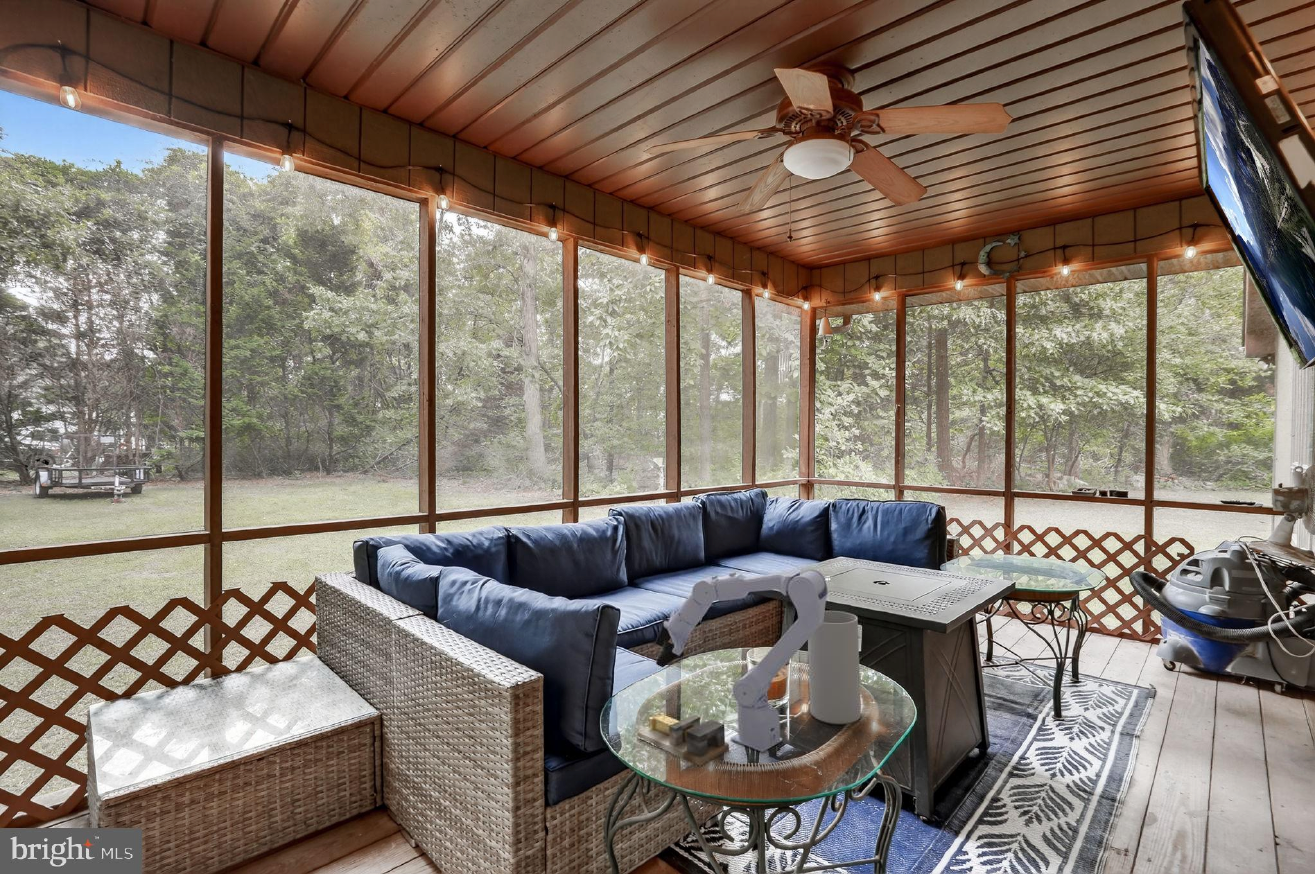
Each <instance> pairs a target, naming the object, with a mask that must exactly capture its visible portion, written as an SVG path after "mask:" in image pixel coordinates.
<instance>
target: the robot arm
mask: <svg viewBox="0 0 1315 874" xmlns="http://www.w3.org/2000/svg"><path fill="white" fill-rule="evenodd" d="M826 581H827V580H826V578H825V576H824V575H823V574H822V573H821V571H818V569H810V568H809V569H806V570H805V571H803V570H802V569H793V570H787V571H784V570H783V571H780V572H776V573H775V572H774V573H768V574H763V575H758V576H752V577H746V576H745V575H743V574H742V573H737V572H736V571H731V572H729V575H723V576H718V575H711V577H710V576H709V577H706V578H704V579H701V580H700V581H697V582H696V583H695V584H694V585H693V587H692V591H691V593H690V595H689V596H687V598H686V599H685V601H683V603H682V605H681V606H680V608H678V609H677V610H672V611H671V613H670V614H669V618H667V617H666V616H665V617H663V618H662V622H661V627H660V630H659V632H658V635H657V638H656V639H655V645H657V646H659V647H661V648H662V650H661V652H660V653H659V655H658V658H657V659H656V661H655V662H656V663H655V665H657V666H659V667H661V668H664V667H665V666H667V665H668V664H670V663H671V662H673V661H675V660H677V659H682V658H683V657H684V656H685V652H684V646H685V644H686V642H687V641H688V638H689V635H690V634H691V633H692V631H693V630H694V629H695V627H696V626H697V625H698V623H699V622H700V621H701V620H702V618H703V617H704V616H705V615H706V613H707V612H708V610H709V608H710V607H711V606H712V604H713V602H716V601H719V602H724V601H730V600H740V599H745V598H746V597H747V596H748V594H749V593H752V592H763V591H772V590H775V591H776V590H777V591H779V592H780V593H781V594H782V595H783V596H786V597H787V595H788V596H789V598H790V600H791V602H792V604H793V606H794V607H795V609H796V612H797V619H796V621H794V623H793V624H792V625H791V626H790V627H789V628H788V630H787V631H786V632H785V633H784V634H783V635H782V636H781V638H780V639H779V640H778V641H777V642H776V643H775V645H774V646H773V647H771V649H770V650H769V651H768V652H767V653H766V655H765V656H764V657H763V658H762V659H761V660H760V662H758V663H757V665H755V666H754V667H753V668H750V669H749V670H748V671H747V673H746V674H744V675H743V676H742V677H741V678H740V679H737V680H736V681H735V682H734V684H733V686H732V696H733V697H734V699H735V701H736V702H737V704H736V705H737V728H738V730H737V732H738V733H736V734H735V735H732V736H731V737H730V740H731V741H733V742H735V743H739V744H740V745H744V746H746V747H749V748H751V749H754V750H757V751H759V752H761V753H763V752H765V751H767V750H768V749H770V748H772V747H773V746H775V745H778V744H779V743H780V742H782V741H783V738H782V737H781V726H780V724H781V723H780V722H781V721H780V718H781V717H780V712H779V711H778V709H777V708H775V707H773V706H772V705H771V704H770V703H769V698H768V695H767V694H768V693H767V692H768V691H769V690H770V688H771V686H772V682H773V680H774V679H775V677H776V676H777V674H778V673H779V672H780V671H781V670H782V669H783V668H784V667H785V666H786V664H788V663H789V661H790V660H791V659H792V658H793V657H794V655H795V654H797V652H798V651H799V650H800V649H801V648H802V647H803V645H804V644H806V643H807V642H808V639H809V638H810V637H811V635H812V634H813V633H814V632H815V631H816V630H817V629H818V628H819V627H820V625H821V624H822V622H823V620H824V612H825V611H826V610H825V609H826V605H827V604H826V603H827V597H828V594H829V589H828V584H827V582H826ZM670 640H671V641H672V643H671V642H670Z"/></svg>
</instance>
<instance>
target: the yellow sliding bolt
mask: <svg viewBox="0 0 1315 874" xmlns="http://www.w3.org/2000/svg"><path fill="white" fill-rule="evenodd" d="M679 721H680V720H678V719H675V718H673V717H670V716H667V715H666V713H664V712H659V713H657V714H654V715H652V716H650V717H648V727H649V729H652V730H653V729H656V730H658V731H661V732H663V733H666V734H668V735H669V726H670V725H672V724H674V723H677V722H679ZM692 728H694V727H693V726H689V727H687V728H685V729H683V741H684V742H687V733H686V731H688V730H690V729H692Z"/></svg>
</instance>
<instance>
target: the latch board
mask: <svg viewBox="0 0 1315 874" xmlns="http://www.w3.org/2000/svg"><path fill="white" fill-rule="evenodd" d="M678 721H679V722H677V723H674V724H672V725H670V726H669V735H668V734H666V733H663V732H661V731H658V730H656V729H653V730H652V729H649V726H648V727H646V728H644V729H642V730H640V731H637V737H638V736H639V737H640V738H643V739H644V740H646V741H649V742H650V743H653V744H654V745H656V746H658V747H661V748H662V749H664V750H663V751H665V750H667V751H669V752H671V753H672V755H674V754H676V755H677V756H676V755H675V756H676V757H678V756H679V757H678V758H681V759H682V758H683V759H682V760H685V761H687V762H689V761H690V763H692V764H694V763H695V764H694V765H696V766H698V765H699V766H698V767H702V766H703V765H705V764H707V763H708V762H710V761H712V760H714V759H716V758H718V757H720V756H722V755H723V754H724V753H727V752H728V751H730V743H729V742H726V738H725V736H726V734H725V724H724V723H723V722H719V721H716V720H714V719H709V720H707V721H704V722H703V723H701V716H699V715H696V714H691V715H690V716H688V717H685V718H684V719H682V720H678ZM689 726H693V727H694V728H692V729H690V730H688V731H686V733H687V742H684V741H683V729H685V728H687V727H689ZM654 745H653V746H654ZM656 746H655V747H656ZM658 747H657V748H658ZM662 749H661V750H662ZM667 751H666V752H667ZM669 752H668V753H669ZM671 753H670V754H671Z"/></svg>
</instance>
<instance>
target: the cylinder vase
mask: <svg viewBox="0 0 1315 874" xmlns="http://www.w3.org/2000/svg"><path fill="white" fill-rule="evenodd" d="M807 647H808V649H807V650H808V651H807V654H808V682H809V686H808V687H809V709H810V714H811V715H812V717H814V718H815V719H816V720H819V722H823V723H826V724H832V725H847V724H853V723H854V722H857V721H858V720H859V719H860V718H861V714H862V708H861V680H860V679H861V677H860V654H859V653H860V651H859V650H860V649H859V648H860V647H859V623H858V616H857V615H855V614H853V613H849V612H846V611H838V610H825V612H824V620H823V622H822V624H821V625H820V627H819V628H818V629H817V630H816V631H815V632H814V633H813V634H812V635H811V637H810V638H809V639H808V640H807Z"/></svg>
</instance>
